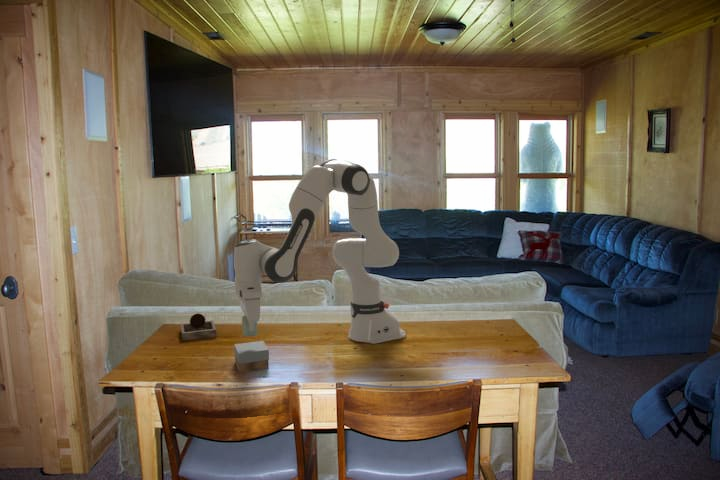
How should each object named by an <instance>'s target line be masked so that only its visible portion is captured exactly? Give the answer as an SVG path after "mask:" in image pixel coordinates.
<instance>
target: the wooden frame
mask: <svg viewBox="0 0 720 480" xmlns="http://www.w3.org/2000/svg"><path fill="white" fill-rule="evenodd" d="M201 328H205V329H206V330H201V331H193V330H194V329H196V328H193V327H192V326H191V324H190V322H186V323H181V324H180V332H181V333H180V334H181V340H182V341H193V340H202V339H209V338H216V337H217V328H216V325H215V321H214V320H205V324H204V326H203V327H201ZM210 328H211V329H210ZM208 329H209V330H208Z"/></svg>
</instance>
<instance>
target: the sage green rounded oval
mask: <svg viewBox="0 0 720 480" xmlns="http://www.w3.org/2000/svg"><path fill="white" fill-rule="evenodd" d="M241 324H242V325H241V328H242V336H244V337H250V338H251V337H255V336H257V335H258V334H259V333H258V321H256V322H255V325H254V331H249V329H248V325H249V324H248V320H247V318H246V316H245V315H244V316H242V317H241Z"/></svg>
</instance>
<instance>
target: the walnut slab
mask: <svg viewBox="0 0 720 480" xmlns="http://www.w3.org/2000/svg"><path fill="white" fill-rule="evenodd" d="M234 361H235V366H236V369H237V371H238V373H246V372H254V371H260V370H261V371H262V370H268V369H269V368H270V367H269V365H270V364H269V360H263V361H256V362H249V363H242V364H239V362H238V360H237V358H236V356H235V355H234Z"/></svg>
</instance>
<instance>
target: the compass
mask: <svg viewBox="0 0 720 480" xmlns="http://www.w3.org/2000/svg"><path fill="white" fill-rule="evenodd" d="M205 321H206V318H205V316H204V315H203V314H202V313H198V312H197V313H195V314H192V315H191V317H190V318H189V323H190V324H191V326H192V327H193V328H196V329H194V330H193V331H201V330H210V329H205V328H201V327H203V326H204V324H205Z"/></svg>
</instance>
